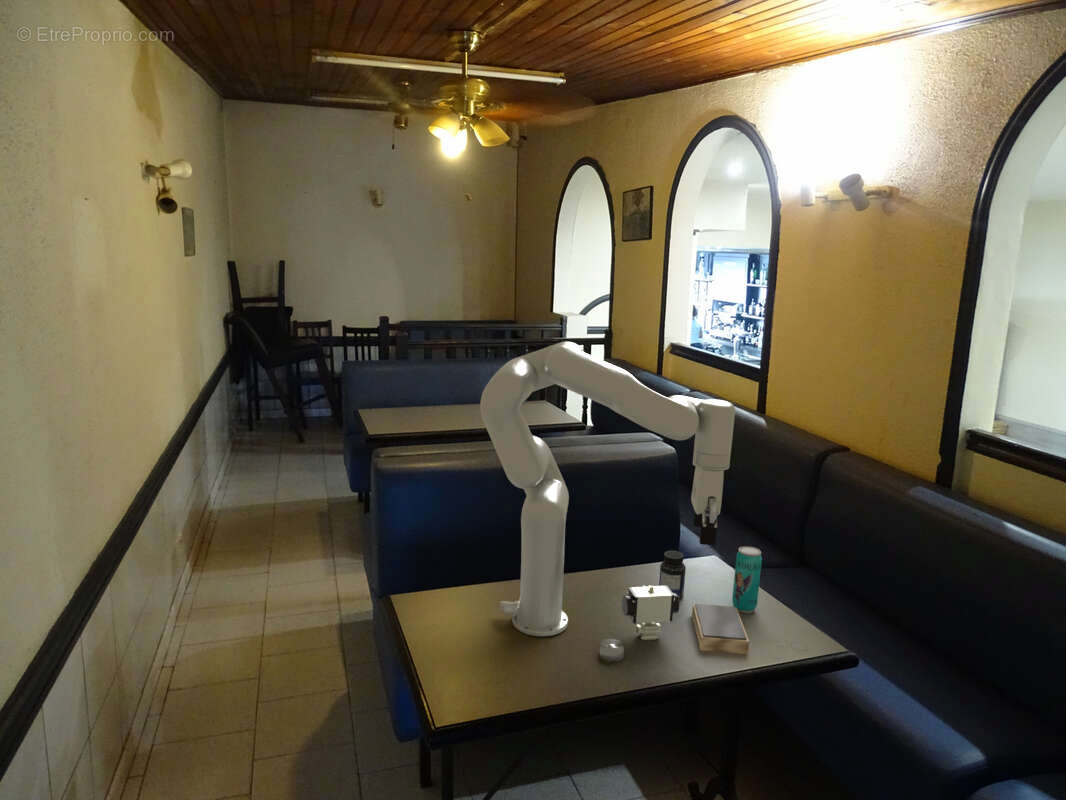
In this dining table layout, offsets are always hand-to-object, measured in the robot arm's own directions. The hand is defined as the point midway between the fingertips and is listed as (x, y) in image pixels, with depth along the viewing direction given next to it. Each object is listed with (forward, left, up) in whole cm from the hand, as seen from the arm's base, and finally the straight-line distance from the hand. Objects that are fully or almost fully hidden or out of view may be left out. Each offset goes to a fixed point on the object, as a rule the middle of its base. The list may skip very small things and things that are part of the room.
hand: (703, 535), depth 157 cm
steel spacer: (-18, -10, -24) cm, 32 cm away
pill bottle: (-3, +19, -24) cm, 31 cm away
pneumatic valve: (-10, -1, -24) cm, 27 cm away
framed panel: (+6, +2, -24) cm, 25 cm away
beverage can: (+14, +15, -24) cm, 32 cm away
